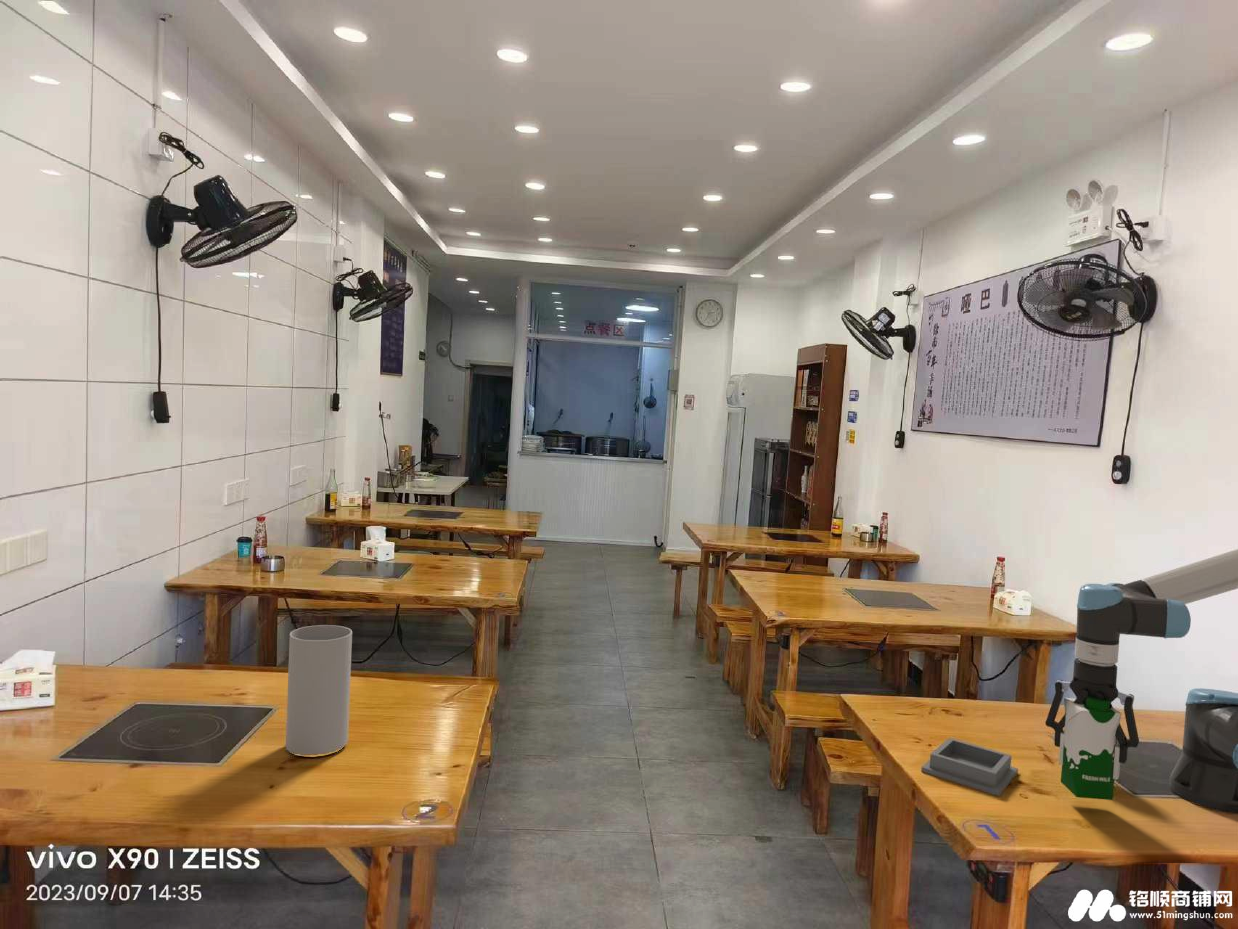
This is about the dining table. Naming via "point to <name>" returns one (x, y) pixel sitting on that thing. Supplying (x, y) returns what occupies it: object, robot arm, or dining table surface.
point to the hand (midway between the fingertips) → (1088, 769)
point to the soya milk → (1089, 748)
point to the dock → (971, 766)
